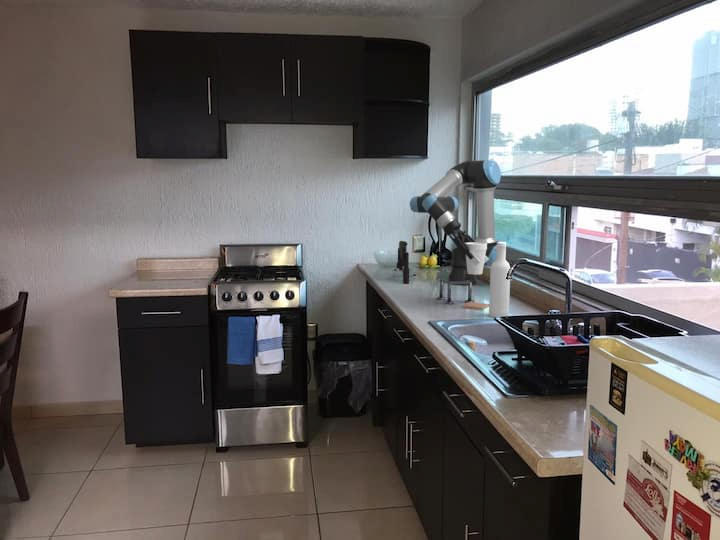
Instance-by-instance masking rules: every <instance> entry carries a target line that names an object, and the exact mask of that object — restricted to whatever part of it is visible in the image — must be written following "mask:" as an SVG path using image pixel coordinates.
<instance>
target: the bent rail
mask: <svg viewBox="0 0 720 540" xmlns="http://www.w3.org/2000/svg"><path fill="white" fill-rule="evenodd" d="M444 283H445V284H447V291H446V293H447V297H444ZM467 283H468V285H467V299H466V300H465V301H464V302H465V303H464V304H466V303H468V302H475V301H474V300H472V294H473V292H472V291H473V285H472V282H471V281H459V282H449V281H448V279H445V278H440V279H439V286H438V287H439V291H438V295H439V296H437V297H436V300H439V301H441V300H442V301H443V300H444V304H445V305H453V304H454V303H455V302H454V301H452V285H455V284H467ZM446 298H447V299H446Z"/></svg>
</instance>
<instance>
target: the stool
mask: <svg viewBox="0 0 720 540" xmlns="http://www.w3.org/2000/svg"><path fill="white" fill-rule="evenodd" d="M408 245H409V244H408V242H407V241H405V240H404V241H403V240H400V241H398V248H397V262H396V268H394V270H392V275H391V276H390V277H389V278H388V279H387V280H388V281H391V282H392V281H396V282H398V281H402V284H404V285H408V284H410V282H413V281H418V280H417V274H416V273H414V266H409V263H410V262H409V259H410V258H409V257H410V254H409V252H408V251H407V249H408V248H407V246H408Z"/></svg>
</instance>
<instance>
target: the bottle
mask: <svg viewBox="0 0 720 540" xmlns="http://www.w3.org/2000/svg"><path fill="white" fill-rule="evenodd" d="M496 247H497V253H496V260H495V261H494V262H493V263H492V265H491V266H490V272H489V273H490V274H489V275H490V278H489V299H488V300H489V301H488V302H489V303H488V304H489V307H488V315H489V316H490V317H491V318H494V319H496V318H495V317H499V316H508V317H509V313H510V293H511V292H510V290H511V278H510V279H509V280H507V279H506V277H507V273H508V271H509V269H511V265H510V263H509V262H508V261H507V260H506V258H507V257H506V256H507V255H506V254H507V253H506V252H507V242H505V241H498V242H497V245H496Z"/></svg>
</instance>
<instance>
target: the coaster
mask: <svg viewBox="0 0 720 540" xmlns="http://www.w3.org/2000/svg"><path fill="white" fill-rule="evenodd" d="M461 308H462V309H471V310H480V311H483V310H485V309H487V308H489V303H483V302H477V301H476V302H475V301H474V302H468V303H464V304H461Z"/></svg>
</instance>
